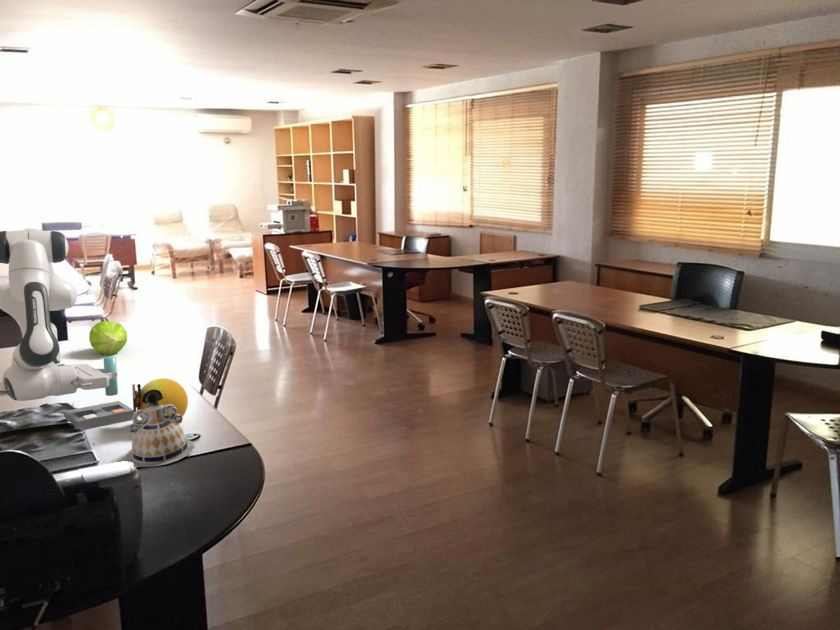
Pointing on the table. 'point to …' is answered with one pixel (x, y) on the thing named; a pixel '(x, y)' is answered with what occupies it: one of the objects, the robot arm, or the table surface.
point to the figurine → (157, 434)
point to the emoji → (169, 391)
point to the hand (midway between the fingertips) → (113, 372)
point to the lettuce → (108, 337)
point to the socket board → (99, 415)
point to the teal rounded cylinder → (112, 388)
